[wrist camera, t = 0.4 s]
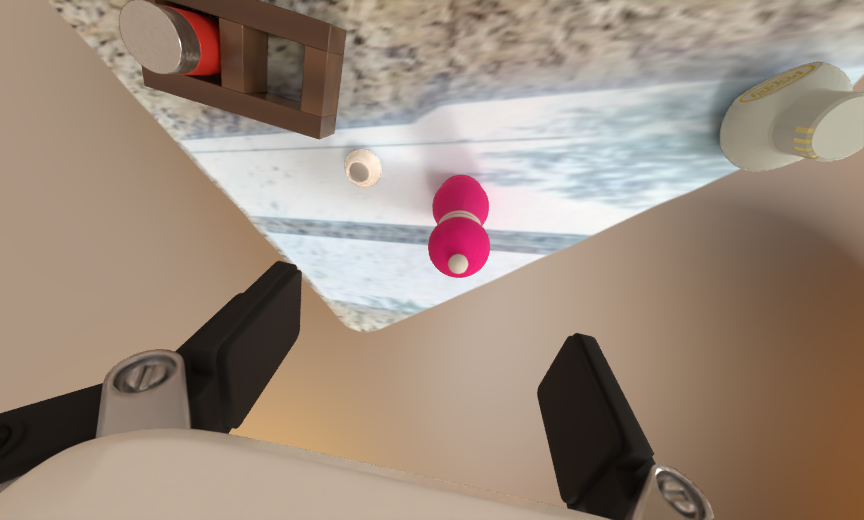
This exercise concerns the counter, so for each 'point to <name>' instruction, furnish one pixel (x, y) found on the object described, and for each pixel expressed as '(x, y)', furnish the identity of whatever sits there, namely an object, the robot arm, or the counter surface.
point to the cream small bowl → (363, 168)
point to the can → (171, 39)
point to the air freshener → (794, 119)
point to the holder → (263, 66)
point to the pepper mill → (459, 227)
